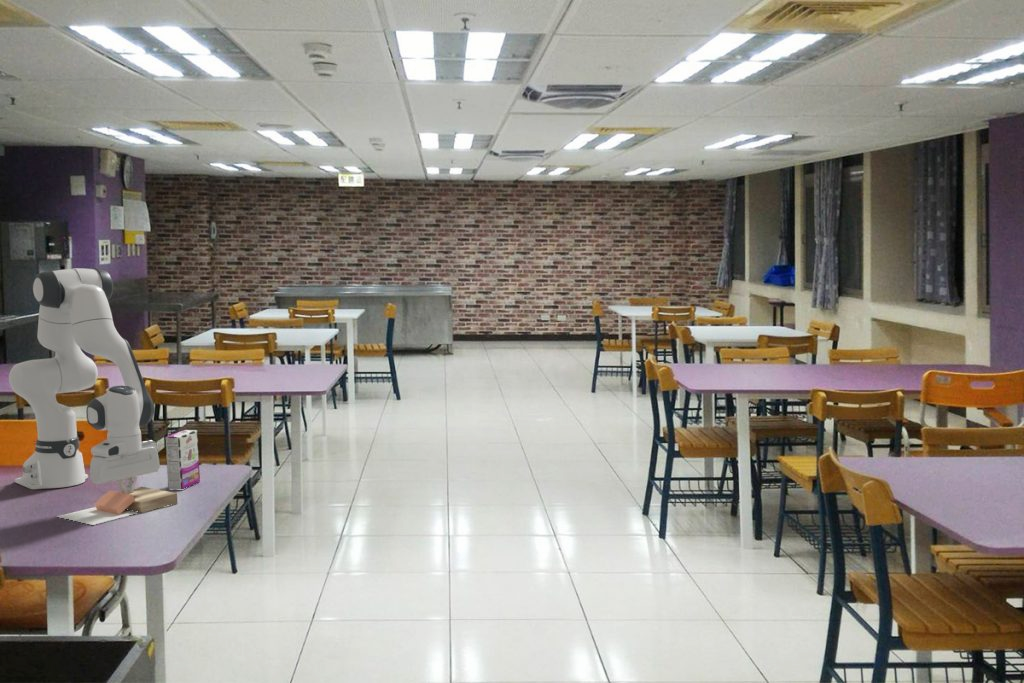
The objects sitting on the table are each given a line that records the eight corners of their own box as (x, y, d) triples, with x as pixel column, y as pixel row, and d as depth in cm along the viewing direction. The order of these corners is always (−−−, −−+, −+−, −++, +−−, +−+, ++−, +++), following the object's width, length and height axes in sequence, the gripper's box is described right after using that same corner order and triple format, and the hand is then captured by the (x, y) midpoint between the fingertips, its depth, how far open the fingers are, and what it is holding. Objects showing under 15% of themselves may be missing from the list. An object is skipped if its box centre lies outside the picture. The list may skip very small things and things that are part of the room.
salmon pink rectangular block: (97, 509, 289) (93, 504, 288) (113, 495, 293) (109, 489, 292) (119, 514, 283) (115, 509, 282) (135, 500, 287) (132, 494, 286)
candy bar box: (185, 481, 323) (183, 429, 321) (200, 482, 322) (198, 430, 320) (166, 490, 312) (164, 436, 310) (182, 491, 311) (179, 436, 309)
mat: (56, 517, 282) (56, 516, 282) (102, 506, 294) (102, 505, 294) (92, 525, 273) (92, 524, 273) (138, 514, 285) (138, 512, 285)
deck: (105, 505, 294) (105, 495, 294) (141, 496, 304) (141, 486, 304) (141, 513, 285) (140, 502, 285) (177, 503, 295) (177, 493, 295)
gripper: (149, 437, 300) (151, 484, 301) (85, 449, 283) (88, 499, 284) (163, 439, 296) (165, 487, 298) (99, 452, 279) (102, 502, 281)
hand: (127, 493), depth 291 cm, fingers closed
